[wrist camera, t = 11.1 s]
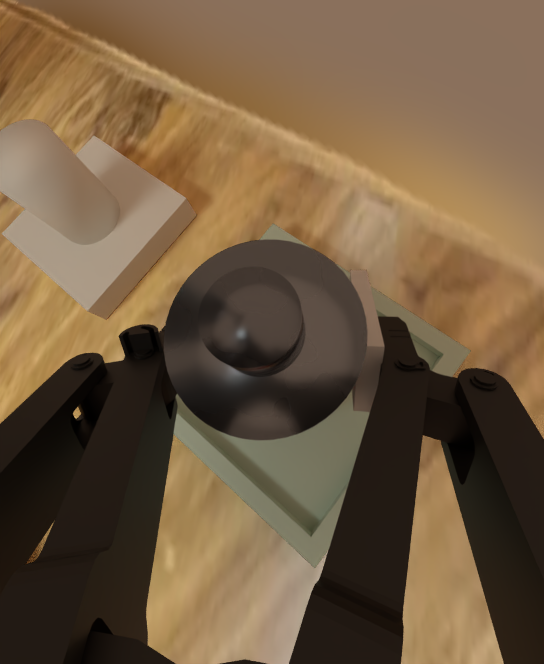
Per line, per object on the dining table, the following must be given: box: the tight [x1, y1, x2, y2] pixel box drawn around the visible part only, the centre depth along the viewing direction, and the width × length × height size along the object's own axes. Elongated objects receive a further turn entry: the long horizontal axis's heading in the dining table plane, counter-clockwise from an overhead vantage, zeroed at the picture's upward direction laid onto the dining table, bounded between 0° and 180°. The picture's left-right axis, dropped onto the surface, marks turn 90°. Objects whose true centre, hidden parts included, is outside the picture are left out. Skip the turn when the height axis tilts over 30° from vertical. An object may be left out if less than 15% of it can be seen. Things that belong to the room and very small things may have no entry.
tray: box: [174, 224, 471, 568], centre depth 20 cm, size 14×14×2 cm
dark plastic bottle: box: [164, 239, 367, 440], centre depth 13 cm, size 6×6×12 cm
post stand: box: [0, 119, 197, 319], centre depth 22 cm, size 10×10×8 cm
